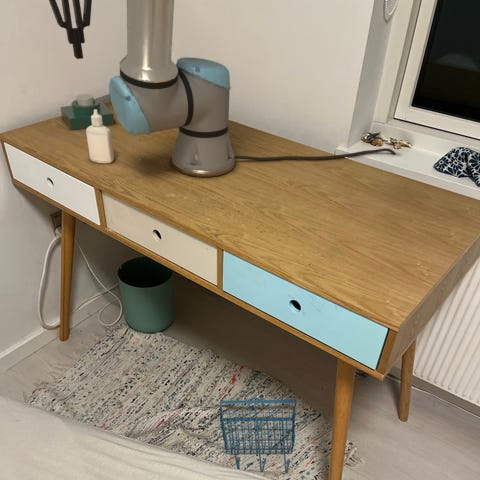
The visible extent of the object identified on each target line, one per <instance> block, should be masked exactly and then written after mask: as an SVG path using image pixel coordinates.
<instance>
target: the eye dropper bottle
mask: <svg viewBox="0 0 480 480" xmlns="http://www.w3.org/2000/svg"><path fill="white" fill-rule="evenodd" d="M91 121H92V125H91V126H89V127H88V128H85V129H86V130H85V134H86V141H87V149H88V155H89V160H90V161H91V162H93V163H98V164H111V163H113V161H114V160H115V156H114V155H115V154H114V147H113V139H112V131H111V129H110V128H109V127H107V126H103V122H102V116H101V115H99V114H98V111H97V110H96V109H95V110H94V114H93V115H92V116H91Z"/></svg>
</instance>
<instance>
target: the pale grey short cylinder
mask: <svg viewBox="0 0 480 480" xmlns="http://www.w3.org/2000/svg"><path fill="white" fill-rule="evenodd" d="M93 99H94V96H93V95H92V94H87V93H82V94H78V95H76V100H77V105H80V106H90V105H93V104H94V100H93Z"/></svg>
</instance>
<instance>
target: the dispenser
mask: <svg viewBox="0 0 480 480" xmlns="http://www.w3.org/2000/svg"><path fill="white" fill-rule="evenodd" d="M93 100H94V104H93V105H90V106H80V105H77V99H74V100H72V102H71V104H70V105H67V106H59V107H60V112H61V117H62V119H63V121H64V122H65V124H66V125H67V127H68V128H69V129H70V131H75V130H84V129H87V128H88V127H89V126H91V125H92V121H91V116H92V115H93V114H94V110H95V109H96V110H97V111H98V114H99V115H101V116H102V122H103V126H105V127H107V126H113V125H115V118H114V112H113V111H112V110H110V108H108V106H107V105H106V104H105V103H104V102H102V101H101V102H100V101H99V100H98V99H95V98H93Z"/></svg>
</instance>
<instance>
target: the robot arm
mask: <svg viewBox="0 0 480 480" xmlns="http://www.w3.org/2000/svg"><path fill="white" fill-rule="evenodd" d="M48 1H49V4H50V7H51V8H50V9H51V10H52V12H53V15H54V19H55V21H56V24H57V25H58V26H59V27H60V28H63V29H65V30H66V38H67V41H68V44H70V45H72V49H73V50H72V51H73V57H74V58H75V59H76V60H83V59H84V53H83V46H82V44H85V43H86V40H85V33H84V30H85V28H86V27H90V25H91V17H92V5H93V0H83V12H82V7H81V2H80V0H71V1H72V7H73V13H74V14H73V15H74V19H75V20H74V21H75V26H76V27H73V21H72V14H71V6H70V1H69V0H60V1H61V7H62V8H61V9H62V14H63V16H62V14H61V11H60V8H59V5H58V3H57V0H48ZM174 15H175V0H126V44H127V45H126V51H127V52H126V55H125V56H124V57H122V58H121V60H120V61H119V75H114V76H113V77H111V78H110V80H109V82H108V93H109V98H110V102H111V105H112V108H113V111H114V114H115V116H116V118H117V120H118V122H119V124H120V125H121V127H122V128H123V130H124V131H125V132H127V133H128V134H129V135H133V136H141V135H150V134H152V133H158V132H162V131H167V130H171V129H178V133H177V138H176V140H175V143H174V147H173V151H172V154H171V155H172V156H171V163H172V167H173V168H174V169H175V170H176V171H178V172H179V173H181V174H185V175H187V176H192V177H198V178H213V177H218V176H222V175H225V174H227V173H230V172H231V171H232V170H233V169H234V168H235V163H236V162H235V161H236V159H237V160H248V161H249V160H250V161H251V160H252V161H281V160H309V161H310V160H314V161H316V160H331V159H332V160H333V159H341V158H350V157H355V156H356V157H357V156H360V155H366V154H376V153H382V152H389V153H390V154H392V155H393V156H396V155H397V153H396V152H395V151H394V150H393V149H391V148H387V147H386V148H378V149H370V150H369V149H368V150H362V151H357V152H351V153H344V154H343V153H342V154H335V155H322V156H321V155H320V156H303V155H301V156H300V155H299V156H298V155H286V156H285V155H284V156H283V155H282V156H264V157H263V156H261V157H260V156H248V155H235V153H234V149H233V146H232V142H231V138H230V136H229V118H230V90H231V88H232V87H231V78H230V71H229V69H228V67H227V66H225V65H224V64H222V63H220V62H218V61H214V60H209V59H205V58H199V57H187V56H186V57H185V56H183V57H180V58H178V59H177V60H176V63H175V62H174V61H173V60H172V56H173V55H172V53H173V37H174V36H173V34H174V33H173V32H174Z"/></svg>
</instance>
